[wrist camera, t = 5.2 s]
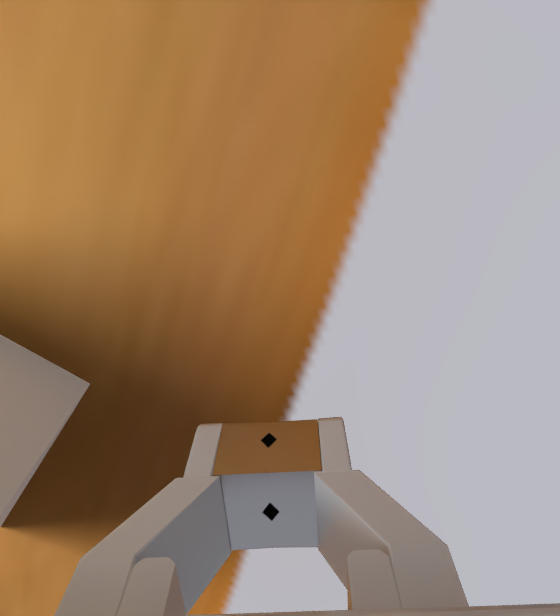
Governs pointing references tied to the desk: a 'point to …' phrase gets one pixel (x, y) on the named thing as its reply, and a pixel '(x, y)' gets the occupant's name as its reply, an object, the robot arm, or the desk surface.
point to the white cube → (30, 415)
